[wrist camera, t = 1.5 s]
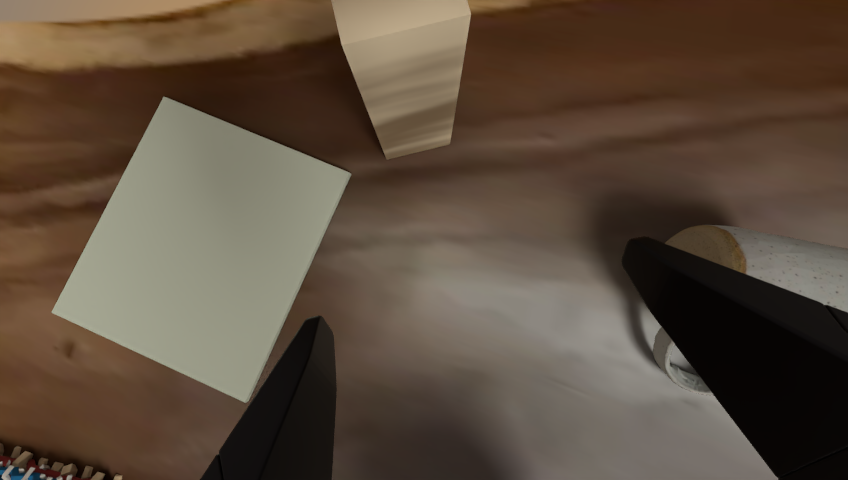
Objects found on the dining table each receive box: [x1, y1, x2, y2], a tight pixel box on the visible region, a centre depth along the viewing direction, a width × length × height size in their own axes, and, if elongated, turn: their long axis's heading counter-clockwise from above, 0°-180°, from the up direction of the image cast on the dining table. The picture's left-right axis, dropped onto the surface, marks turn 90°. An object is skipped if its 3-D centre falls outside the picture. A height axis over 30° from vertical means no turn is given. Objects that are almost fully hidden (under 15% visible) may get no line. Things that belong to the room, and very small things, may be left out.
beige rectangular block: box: [331, 0, 471, 159], centre depth 18 cm, size 4×5×12 cm
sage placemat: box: [51, 97, 351, 403], centre depth 23 cm, size 18×16×1 cm
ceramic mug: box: [653, 225, 848, 395], centre depth 18 cm, size 11×8×8 cm
